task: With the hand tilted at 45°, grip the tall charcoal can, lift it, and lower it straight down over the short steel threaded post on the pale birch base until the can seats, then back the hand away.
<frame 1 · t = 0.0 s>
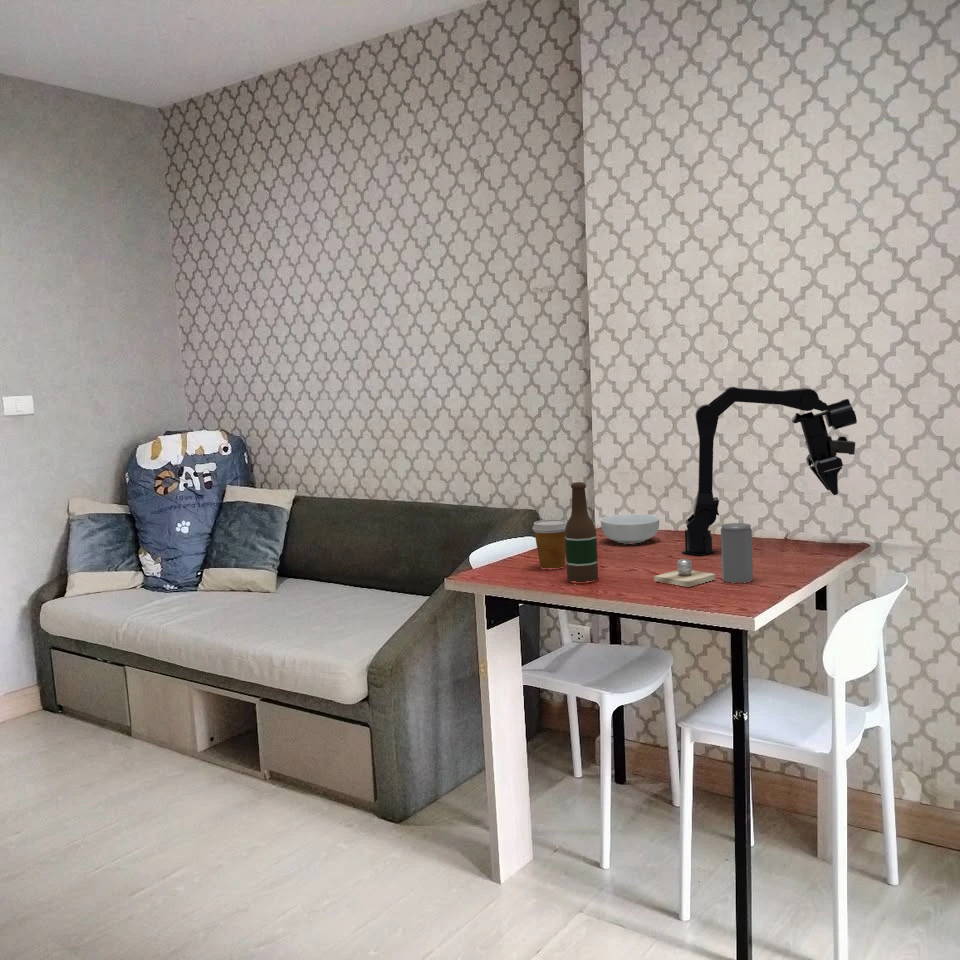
hand: (832, 492, 247), 15 cm above the table, tool pointing down, fingers open, 9 cm apart
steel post: (684, 567, 224), on the birch base, point 3 cm above the table
disposable coffee cup: (552, 568, 248), on the table
cereal bowl: (630, 542, 277), on the table
beer bottle: (582, 581, 231), on the table
charcoal can: (737, 580, 222), on the table
birch base: (684, 581, 224), on the table
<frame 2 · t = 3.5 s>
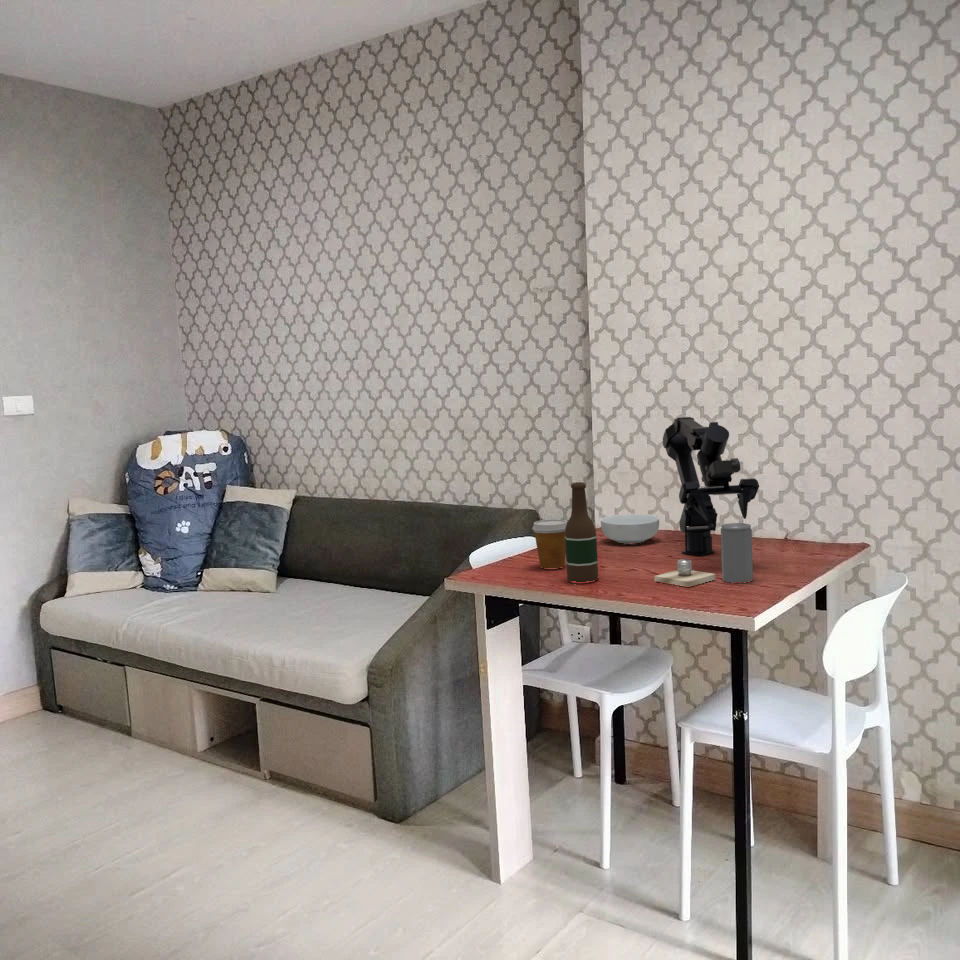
hand: (726, 518, 228), 13 cm above the table, tool tilted 45°, fingers open, 9 cm apart
nothing on the table moved.
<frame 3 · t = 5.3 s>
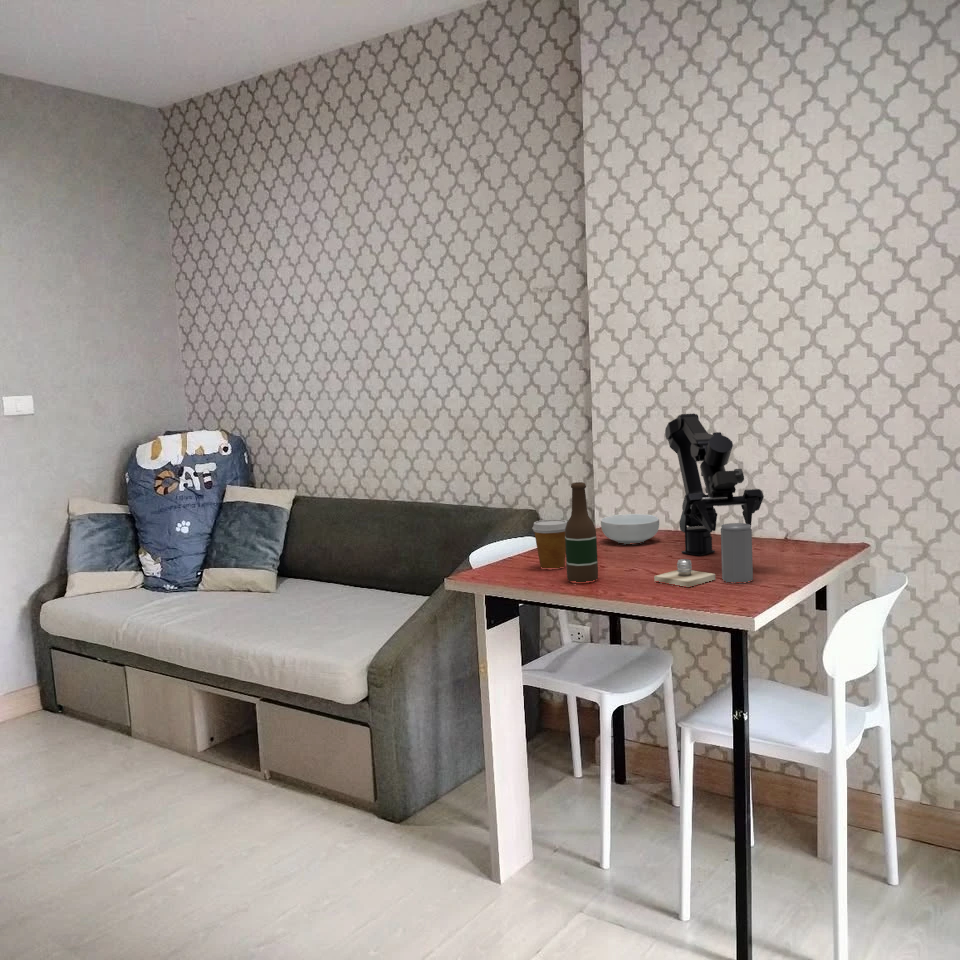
hand: (730, 530, 225), 11 cm above the table, tool tilted 45°, fingers open, 9 cm apart
nothing on the table moved.
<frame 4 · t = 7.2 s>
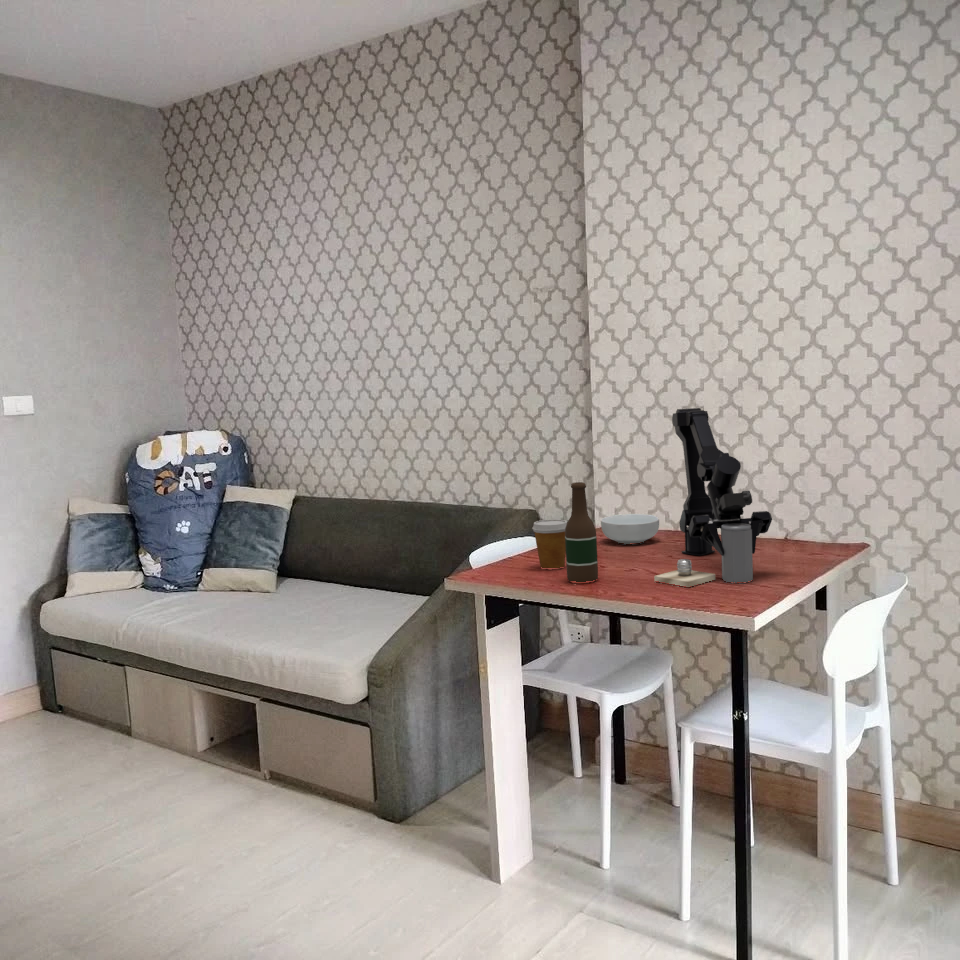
hand: (738, 553, 220), 7 cm above the table, tool tilted 45°, fingers closed on charcoal can, 7 cm apart
charcoal can: (737, 580, 222), on the table, touching gripper
everything else where it was.
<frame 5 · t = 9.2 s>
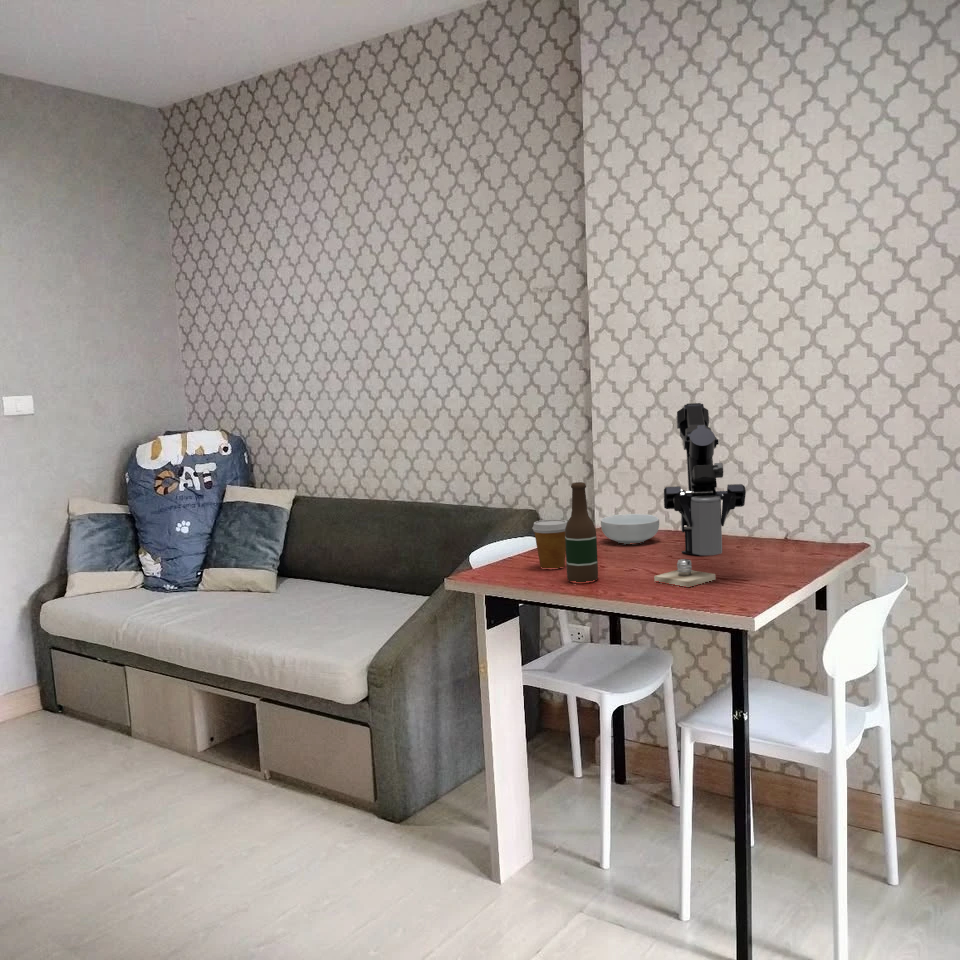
hand: (706, 525, 220), 14 cm above the table, tool tilted 45°, fingers closed on charcoal can, 7 cm apart
charcoal can: (707, 552, 222), point 7 cm above the table, touching gripper
everything else where it was.
when the fingers open (9 cm above the table, at t = 11.7 s): charcoal can drops 1 cm, resting on birch base.
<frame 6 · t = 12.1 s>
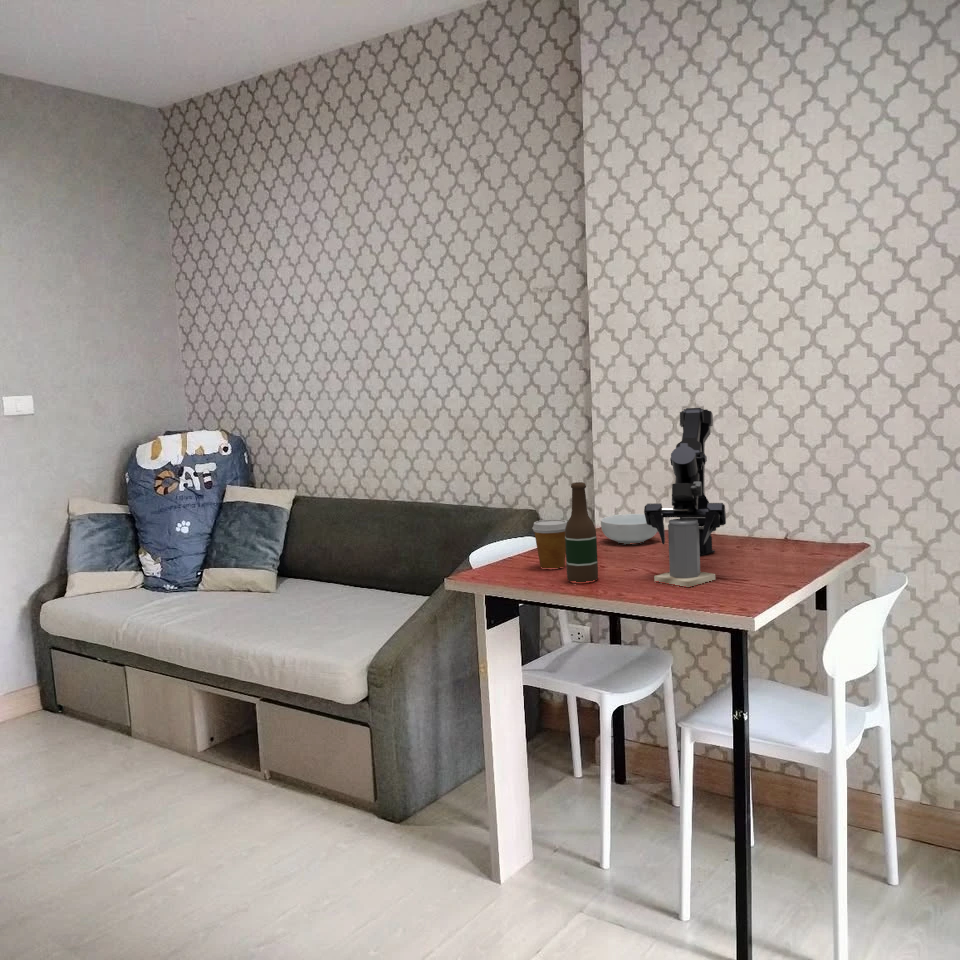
hand: (683, 543, 222), 9 cm above the table, tool tilted 45°, fingers open, 9 cm apart
charcoal can: (685, 575, 224), point 1 cm above the table, touching birch base
everything else where it was.
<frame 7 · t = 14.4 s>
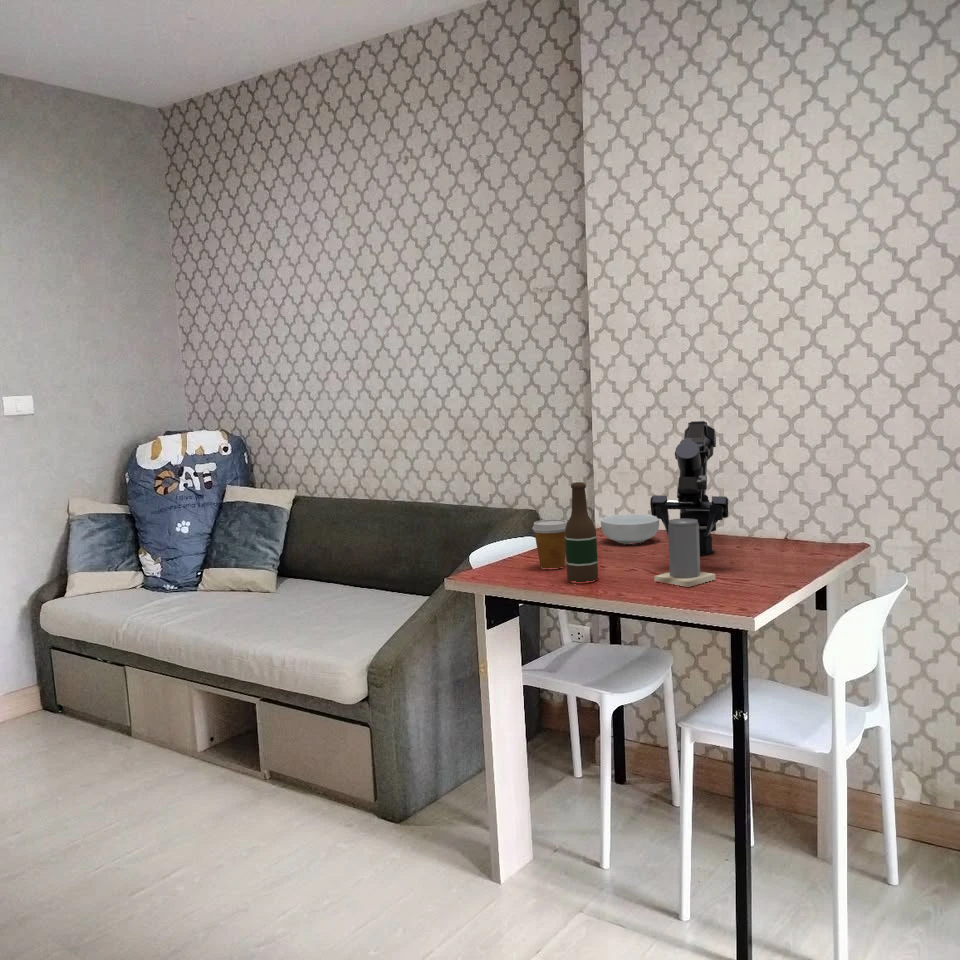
hand: (687, 534, 230), 10 cm above the table, tool tilted 45°, fingers open, 9 cm apart
nothing on the table moved.
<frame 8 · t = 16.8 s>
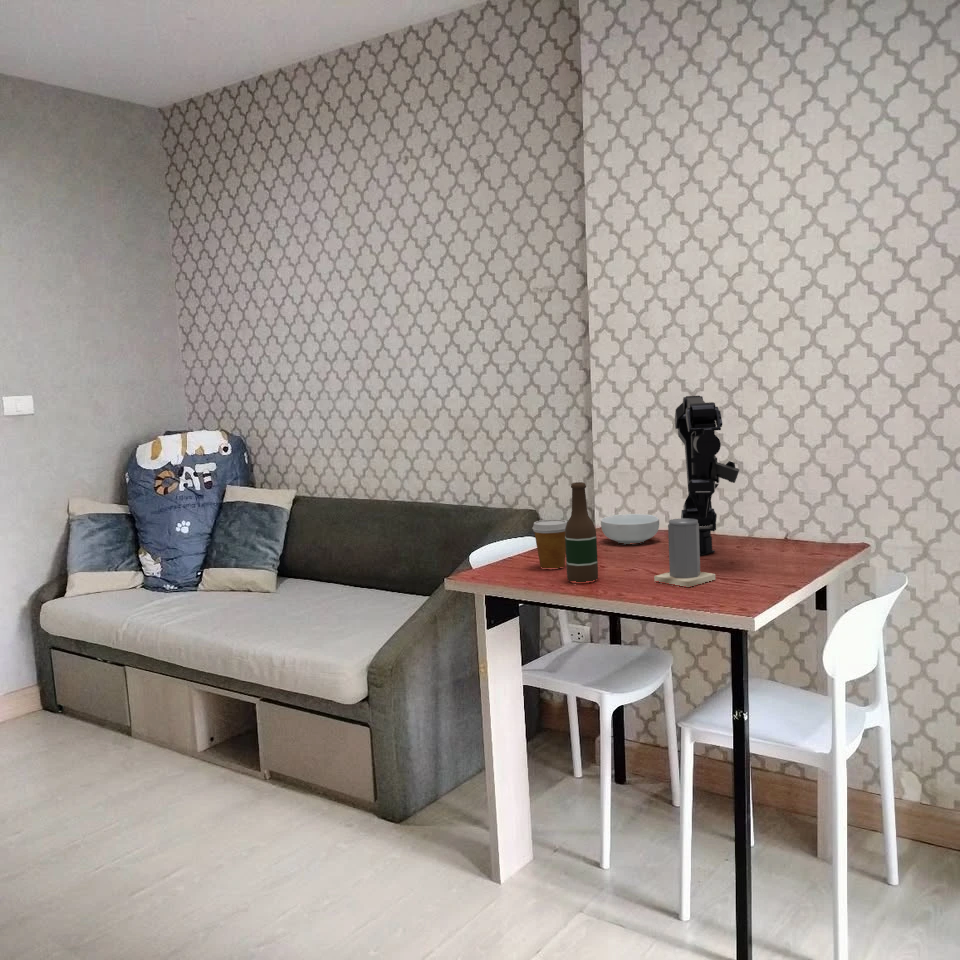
hand: (705, 515, 237), 13 cm above the table, tool pointing down, fingers open, 9 cm apart
nothing on the table moved.
at the end: charcoal can 0.1 cm from the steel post (horizontally); charcoal can point 1.5 cm above the table; charcoal can tilted 0° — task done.
